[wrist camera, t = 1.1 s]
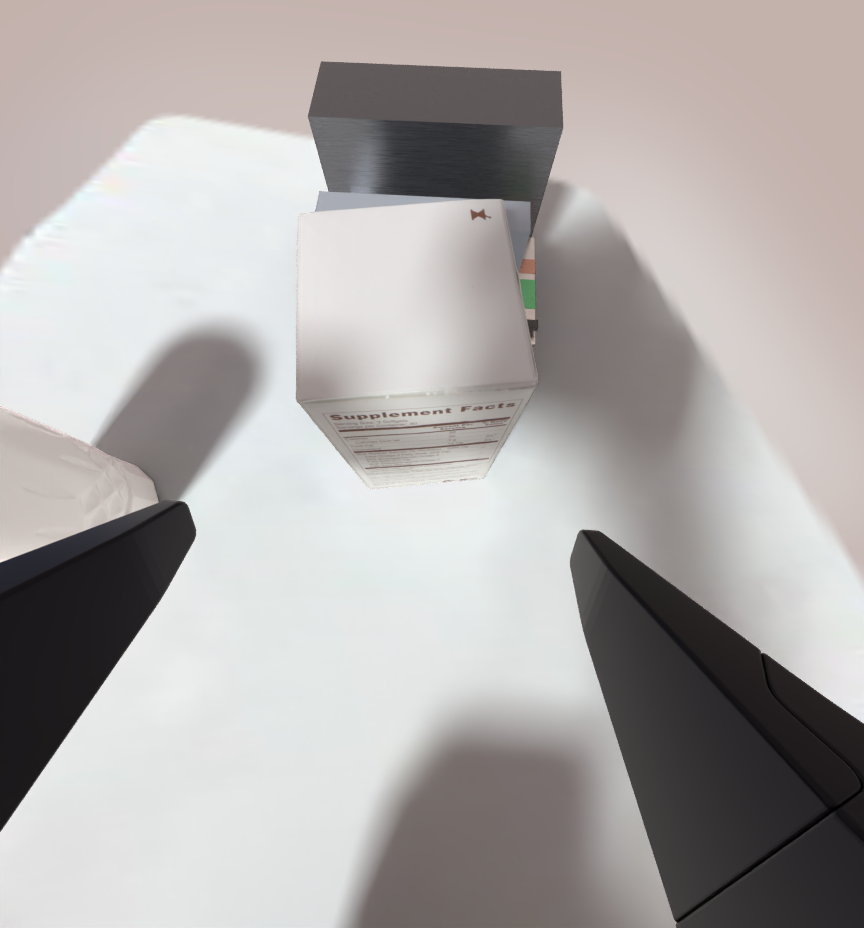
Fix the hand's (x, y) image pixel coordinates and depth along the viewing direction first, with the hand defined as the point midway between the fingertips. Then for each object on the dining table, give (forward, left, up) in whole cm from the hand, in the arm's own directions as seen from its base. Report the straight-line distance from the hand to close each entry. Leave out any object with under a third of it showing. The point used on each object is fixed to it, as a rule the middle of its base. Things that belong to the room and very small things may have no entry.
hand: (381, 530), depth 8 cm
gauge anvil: (+17, -6, -13) cm, 22 cm away
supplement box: (+7, -3, -14) cm, 16 cm away
